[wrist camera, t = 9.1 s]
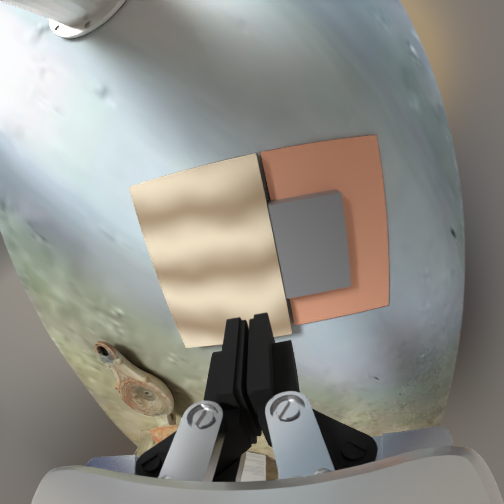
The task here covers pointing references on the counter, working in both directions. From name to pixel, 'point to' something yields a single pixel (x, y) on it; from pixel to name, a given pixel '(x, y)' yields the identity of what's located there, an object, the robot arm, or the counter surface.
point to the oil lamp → (141, 391)
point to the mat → (355, 211)
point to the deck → (213, 248)
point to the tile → (311, 242)
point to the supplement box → (254, 467)
